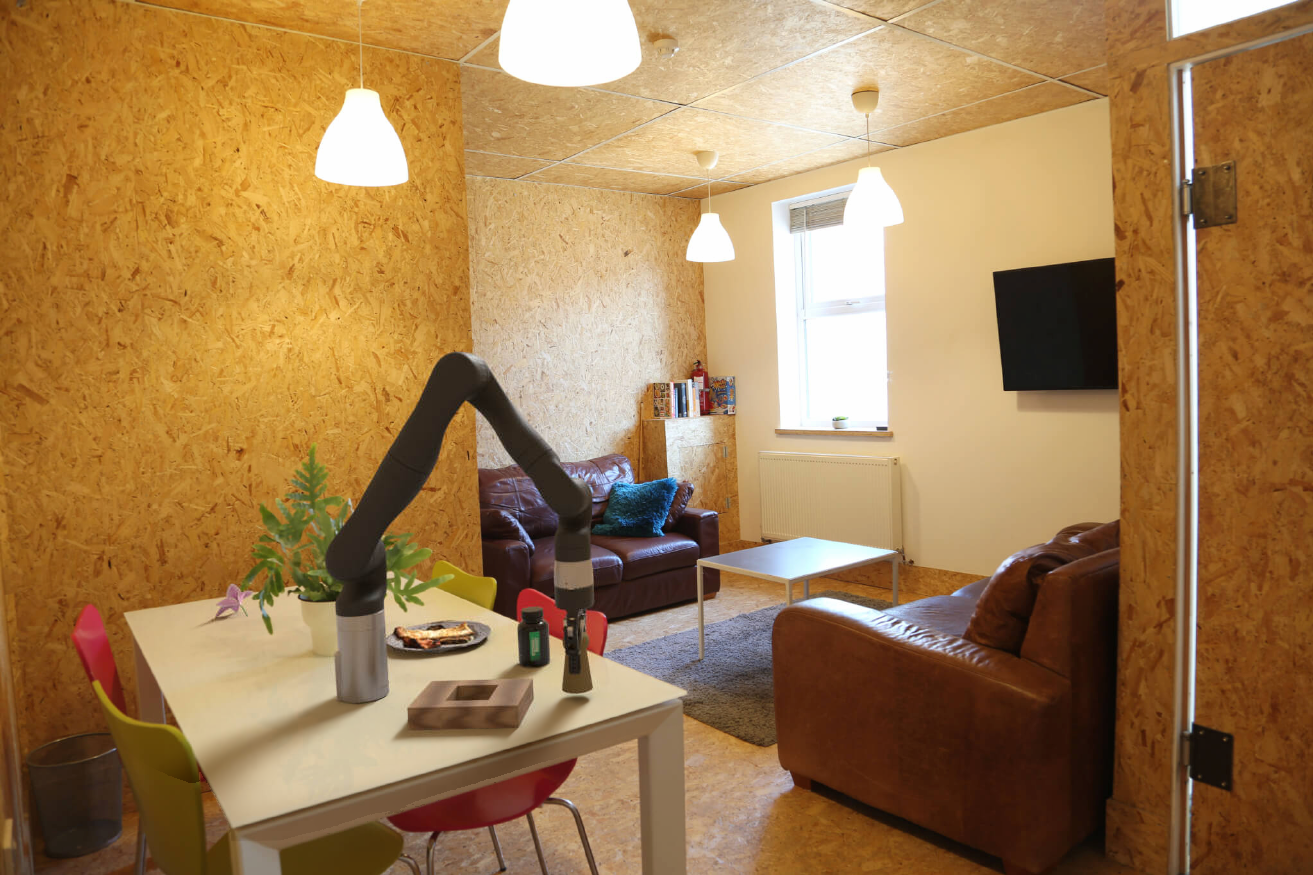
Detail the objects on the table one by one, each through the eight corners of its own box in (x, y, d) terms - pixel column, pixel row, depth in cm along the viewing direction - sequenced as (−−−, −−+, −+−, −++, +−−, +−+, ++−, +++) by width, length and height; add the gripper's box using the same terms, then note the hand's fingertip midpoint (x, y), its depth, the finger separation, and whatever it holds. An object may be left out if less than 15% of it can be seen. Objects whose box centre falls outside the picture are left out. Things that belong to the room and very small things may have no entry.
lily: (262, 611, 249) (246, 583, 249) (269, 602, 240) (252, 573, 240) (221, 632, 241) (204, 603, 242) (226, 624, 232) (209, 594, 233)
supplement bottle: (541, 668, 184) (539, 614, 183) (513, 666, 186) (510, 612, 185) (555, 658, 190) (553, 605, 190) (528, 656, 192) (525, 604, 192)
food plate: (383, 662, 193) (383, 646, 193) (385, 635, 215) (385, 621, 215) (495, 651, 200) (495, 636, 200) (486, 626, 222) (486, 613, 222)
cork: (564, 695, 162) (562, 638, 161) (559, 684, 168) (557, 629, 167) (595, 691, 163) (593, 634, 163) (589, 681, 169) (588, 626, 169)
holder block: (408, 729, 153) (407, 707, 153) (432, 700, 167) (431, 680, 167) (518, 727, 152) (517, 705, 152) (533, 698, 166) (532, 678, 166)
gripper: (560, 574, 172) (563, 657, 173) (548, 591, 157) (551, 682, 158) (597, 573, 171) (600, 657, 172) (588, 590, 157) (591, 681, 158)
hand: (576, 668), depth 165 cm, fingers closed on cork, 4 cm apart
